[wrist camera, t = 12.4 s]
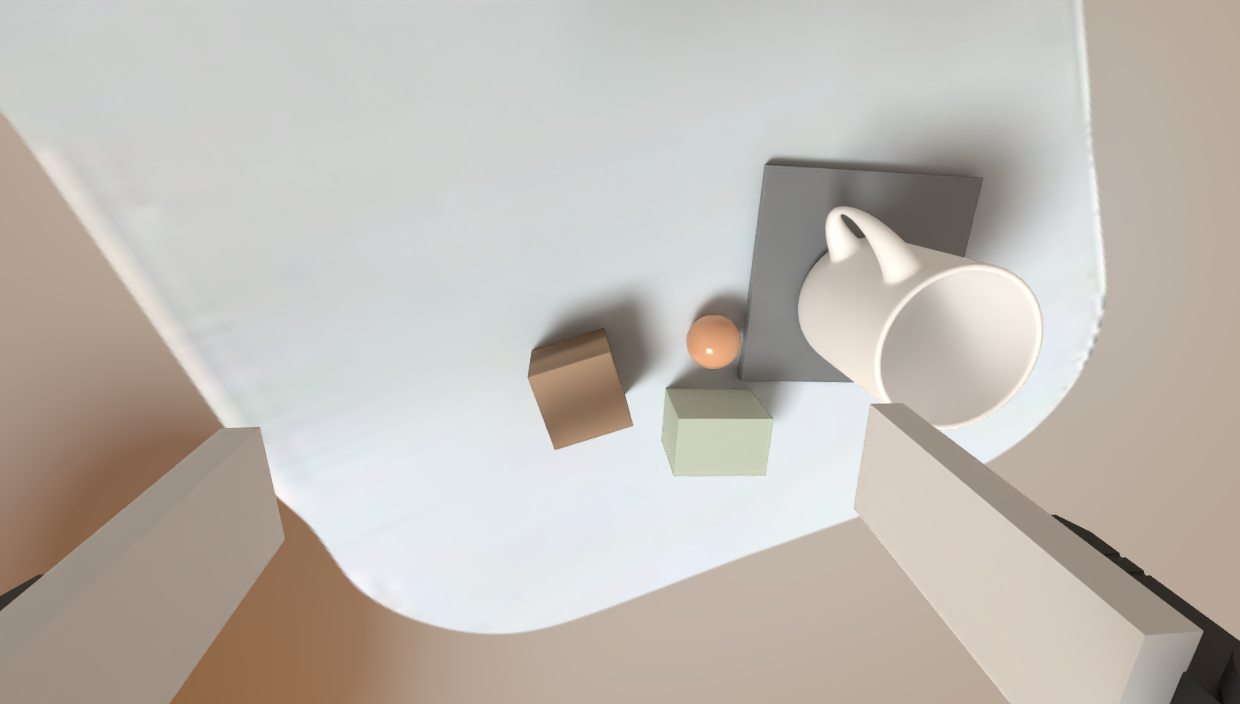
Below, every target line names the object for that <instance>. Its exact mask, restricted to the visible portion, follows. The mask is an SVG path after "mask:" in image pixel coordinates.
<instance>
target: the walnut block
mask: <svg viewBox="0 0 1240 704" xmlns="http://www.w3.org/2000/svg"><path fill="white" fill-rule="evenodd" d="M528 380H529V382H530V385H531V388H532V390H533V393H534V396H535V398H536V401H537V404H538V406H539V409H540V412H541V414H542V417H543V420H544V422H545V425H546V428H547V430H548V433H549V435H550V438H551V441H552V443H553V446H554V449H555V450H557V449H560V448H563V447H567V446H570V445H573V444H576V443H579V442H583V441H586V440H589V439H592V438H596V437H599V436H602V435H605V434H609V433H612V432H615V431H618V430H621V429H625V428H628V427H631V426H633V423H632V419H631V416H630V412H629V408H628V404H627V400H626V397H625V393H624V390H623V387H622V384H621V380H620V377H619V374H618V371H617V368H616V365H615V362H614V358H613V355H612V352H611V349H610V346H609V343H608V340H607V336H606V333H605V330H604V328H603V329H600V330H597V331H593V332H590V333H587V334H584V335H581V336H577V337H574V338H571V339H568V340H564V341H561V342H558V343H555V344H552V345H548V346H545V347H542V348H539V349H535V350H532V352H531V359H530V365H529V372H528Z"/></svg>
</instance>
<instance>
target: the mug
mask: <svg viewBox="0 0 1240 704" xmlns="http://www.w3.org/2000/svg"><path fill="white" fill-rule="evenodd" d="M841 214H844V215H846V216H848V217H849V218H850V219H852V220H853V221H854V222H855V223H856V225H857V226H858V227H859V228H860V229H861V231H862V232H863V233H864V235H865V236H866V237H865V238H857V237H856V236H855V235H854V234H853V233H852V232H851V231H850V229H849V228H848V227H847V226H846V224H845V223H844V221H843V220H842V217H841ZM825 232H826V241H827V246H828V250H829V252H827V253H826V254H825V255H824V256H823V257H822V258H820V259H819V261H818V262H817V263H816V264H815V265H814V266H813V268H812V269H811V271H810V272H809V273H808V275H807V277H806V279H805V281H804V283H803V286H802V288H801V292H800V296H799V301H798V317H799V323H800V327H801V330H802V332H803V334H804V336H805V338H806V340H807V341H808V343H809V344H810V345H811V347H812V348H813V349H814V350H815V351H816V352H817V353H818V354H819V355H821V356H822V357H823V358H824V359H825V360H826V361H828V362H829V363H830V364H832V365H833V366H834V367H835V368H837V369H838V370H839V371H841V372H842V373H843V374H845V375H846V376H847V377H848V378H850V379H851V380H852V381H854V382H855V383H856V384H857V385H859V386H860V387H861V388H863V389H864V390H865V391H866V392H868V393H869V394H870V395H872V396H873V397H874V398H875V399H877V400H878V401H879V402H881V403H882V404H885V403H903V404H905V405H906V406H907V407H909V408H910V409H911V410H913V411H914V412H915V413H917V414H918V415H919V416H921V417H922V418H923V419H925V420H926V421H927V422H928V423H930V424H931V425H932V426H934V427H935V428H936V429H938V430H942V429H954V428H960V427H963V426H967V425H970V424H973V423H975V422H978V421H980V420H982V419H984V418H986V417H988V416H990V415H991V414H993V413H994V412H996V411H997V410H999V409H1000V408H1001V407H1003V406H1004V405H1005V404H1006V403H1007V402H1008V401H1010V400H1011V399H1012V398H1013V397H1014V396H1015V395H1016V393H1017V392H1018V391H1019V390H1020V389H1021V387H1022V386H1023V385H1024V383H1025V382H1026V380H1027V379H1028V377H1029V376H1030V374H1031V372H1032V370H1033V368H1034V366H1035V364H1036V361H1037V359H1038V356H1039V353H1040V349H1041V345H1042V338H1043V319H1042V313H1041V309H1040V306H1039V303H1038V301H1037V299H1036V297H1035V295H1034V293H1033V292H1032V290H1031V289H1030V288H1029V286H1028V285H1027V284H1026V283H1025V282H1024V281H1023V280H1022V279H1021V278H1019V277H1018V276H1017V275H1015V274H1014V273H1012V272H1010V271H1008V270H1006V269H1004V268H1001V267H998V266H995V265H991V264H987V263H983V262H979V261H975V260H971V259H967V258H964V257H960V256H956V255H952V254H948V253H944V252H940V251H936V250H932V249H928V248H924V247H921V246H917V245H913V244H909V243H905V242H904V241H903V240H902V239H901V238H900V237H899V236H898V235H897V234H896V233H895V232H894V231H892V230H891V229H890V228H889V227H888V226H886V225H885V224H884V223H882V222H881V221H879V220H878V219H876V218H875V217H873V216H871V215H870V214H868V213H866V212H864V211H861V210H859V209H856V208H852V207H846V206H841V207H836V208H834V209H833V210H831V211H830V213H829V214H828V216H827V220H826V226H825Z"/></svg>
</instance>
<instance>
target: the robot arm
mask: <svg viewBox="0 0 1240 704" xmlns="http://www.w3.org/2000/svg"><path fill="white" fill-rule="evenodd" d="M854 509H855V511H856V512H857V513H858V514H859V516H860V517H861V518H862V519H863V521H864V522H865V523H866V524H867V526H868V527H869V528H870V529H871V530H872V532H873V533H874V534H875V536H876V537H877V538H878V539H879V541H880V542H881V543H882V544H883V545H884V547H885V548H886V549H887V551H888V552H889V553H890V554H891V555H892V557H893V558H894V559H895V560H896V562H897V563H898V564H899V566H900V567H901V568H902V569H903V571H904V572H905V573H906V574H907V575H908V577H909V578H910V579H911V580H912V582H913V583H914V584H915V585H916V587H917V588H918V589H919V590H920V591H921V593H922V594H923V595H924V597H925V598H926V599H927V600H928V602H929V603H930V604H931V605H932V607H933V608H934V609H935V610H936V612H937V613H938V614H939V615H940V617H941V618H942V619H943V620H944V622H945V623H946V624H947V625H948V627H949V628H950V629H951V630H952V632H953V633H954V634H955V635H956V637H957V638H958V639H959V640H960V642H961V643H962V644H963V645H964V646H965V648H966V649H967V650H968V652H969V653H970V654H971V655H972V657H973V658H974V659H975V660H976V662H977V663H978V664H979V665H980V667H981V668H982V669H983V670H984V672H985V673H986V674H987V675H988V676H989V678H990V679H991V680H992V681H993V683H994V684H995V685H996V686H997V687H998V689H999V690H1000V691H1001V693H1002V694H1003V695H1004V696H1005V698H1006V699H1007V700H1008V701H1009V703H1010V704H1240V641H1239V640H1238V639H1236V638H1235V637H1234V636H1232V635H1231V634H1229V633H1228V632H1227V631H1225V630H1224V629H1223V628H1221V627H1220V626H1218V625H1217V624H1216V623H1214V622H1213V621H1212V620H1210V619H1209V618H1208V617H1206V616H1205V615H1203V614H1202V613H1201V612H1199V611H1198V610H1197V609H1195V608H1194V607H1193V606H1191V605H1190V604H1188V603H1187V602H1186V601H1184V600H1183V599H1181V598H1180V597H1179V596H1178V595H1176V594H1175V593H1173V592H1172V591H1171V590H1169V589H1168V588H1167V587H1165V586H1164V585H1163V584H1161V583H1160V582H1158V581H1157V580H1156V579H1154V578H1153V577H1152V576H1146V575H1145V574H1144V571H1143V570H1142V569H1141V568H1139V567H1138V566H1137V565H1135V564H1134V563H1132V562H1131V561H1130V560H1128V559H1127V558H1126V557H1124V558H1121V557H1120V554H1119V552H1117V551H1116V550H1115V549H1113V548H1112V547H1111V546H1109V545H1108V544H1106V543H1105V542H1104V541H1102V540H1101V539H1100V538H1098V537H1097V536H1095V535H1094V534H1093V533H1091V532H1090V531H1088V530H1086V529H1084V528H1082V527H1080V526H1078V525H1076V524H1073V523H1071V522H1069V521H1067V520H1065V519H1063V518H1061V517H1059V516H1057V515H1050V514H1048V513H1047V512H1046V511H1044V510H1043V509H1042V508H1041V507H1039V506H1038V505H1036V504H1035V503H1034V502H1033V501H1031V500H1030V499H1028V498H1027V497H1026V496H1024V495H1023V494H1022V493H1021V492H1020V491H1018V490H1017V489H1016V488H1014V487H1013V486H1011V485H1010V484H1009V483H1007V482H1006V481H1005V480H1004V479H1002V478H1001V477H1000V476H998V475H997V474H996V473H994V472H993V471H992V470H990V469H989V468H988V467H987V466H985V465H984V464H983V463H981V462H980V461H979V460H977V459H976V458H975V457H973V456H972V455H971V454H969V453H968V452H967V451H965V450H964V449H963V448H961V447H960V446H959V445H958V444H956V443H955V442H954V441H952V440H951V439H950V438H948V437H947V436H946V435H944V434H943V433H942V432H940V431H939V430H938V429H936V428H935V427H934V426H932V425H931V424H930V423H928V422H927V421H926V420H925V419H923V418H922V417H921V416H919V415H918V414H917V413H915V412H914V411H913V410H911V409H910V408H909V407H907V406H906V405H905V404H903V403H885V404H870V408H869V415H868V421H867V427H866V434H865V440H864V446H863V452H862V459H861V465H860V471H859V477H858V484H857V490H856V496H855V503H854ZM284 540H285V537H284V532H283V528H282V523H281V519H280V514H279V510H278V506H277V501H276V496H275V492H274V488H273V483H272V479H271V474H270V470H269V465H268V461H267V457H266V452H265V448H264V443H263V439H262V434H261V430H260V427H248V428H221V429H219V430H218V431H217V432H216V433H215V434H213V435H212V436H211V437H210V438H209V439H207V440H206V441H205V442H204V443H203V444H201V445H200V446H199V447H198V448H197V449H196V450H194V451H193V452H192V453H190V454H189V455H188V456H187V457H186V458H184V459H183V460H182V461H181V462H180V463H178V464H177V465H176V466H175V467H174V468H172V469H171V470H170V471H169V472H168V473H166V474H165V475H164V476H163V477H162V478H160V479H159V480H158V481H157V482H156V483H154V484H153V485H152V486H151V487H150V488H148V489H147V490H146V491H145V492H144V493H143V494H141V495H140V496H139V497H137V498H136V499H135V500H134V501H133V502H131V503H130V504H129V505H128V506H127V507H126V508H124V509H123V510H122V511H121V512H119V513H118V514H117V515H116V516H115V517H113V518H112V519H111V520H110V521H109V522H108V523H106V524H105V525H104V526H102V527H101V528H100V529H99V530H98V531H96V532H95V533H94V534H93V535H92V536H90V537H89V538H88V539H87V540H86V541H85V542H83V543H82V544H81V545H80V546H78V547H77V548H76V549H75V550H74V551H72V552H71V553H70V554H69V555H68V556H66V557H65V558H64V559H63V560H61V561H60V563H58V564H57V565H55V566H54V567H53V568H52V569H51V570H49V571H48V572H47V573H46V574H44V575H37V576H35V577H34V578H32V579H30V580H28V581H27V582H25V583H23V584H21V585H19V586H18V587H16V588H14V589H12V590H10V591H9V592H7V593H5V594H3V595H2V596H0V704H169V703H170V702H171V700H172V699H173V697H174V696H175V695H176V693H177V692H178V690H179V689H180V687H181V686H182V684H183V683H184V682H185V680H186V679H187V678H188V676H189V675H190V673H191V672H192V670H193V669H194V667H195V666H196V665H197V663H198V662H199V660H200V659H201V658H202V656H203V655H204V653H205V652H206V651H207V649H208V648H209V646H210V645H211V643H212V642H213V641H214V639H215V638H216V636H217V635H218V634H219V632H220V631H221V629H222V628H223V626H224V625H225V623H226V622H227V621H228V619H229V618H230V616H231V615H232V613H233V612H234V611H235V609H236V608H237V606H238V605H239V603H240V602H241V601H242V599H243V598H244V597H245V595H246V594H247V592H248V591H249V589H250V588H251V587H252V585H253V584H254V582H255V581H256V580H257V578H258V576H259V575H260V574H261V572H262V571H263V570H264V568H265V567H266V565H267V564H268V562H269V561H270V559H271V558H272V557H273V555H274V554H275V553H276V551H277V550H278V548H279V547H280V545H281V544H282V542H283V541H284Z"/></svg>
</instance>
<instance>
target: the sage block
mask: <svg viewBox="0 0 1240 704" xmlns="http://www.w3.org/2000/svg"><path fill="white" fill-rule="evenodd" d="M772 426H773V418H772V416H771V415H770V414H769V413H768V411H767V410H766V409H765V408H764V406H763V405H762V404H761V403H760V401H759V400H758V399H757V398H756V396H755V395H754V394H753V393H752V391H751V390H750V389H666V388H665V401H664V413H663V426H662V439H661V441H662V444H663V447H664V449H665V452H666V455H667V458H668V461H669V464H670V467H671V470H672V473H673V475H674V476H766V469H767V462H768V454H769V447H770V440H771V433H772Z"/></svg>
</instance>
